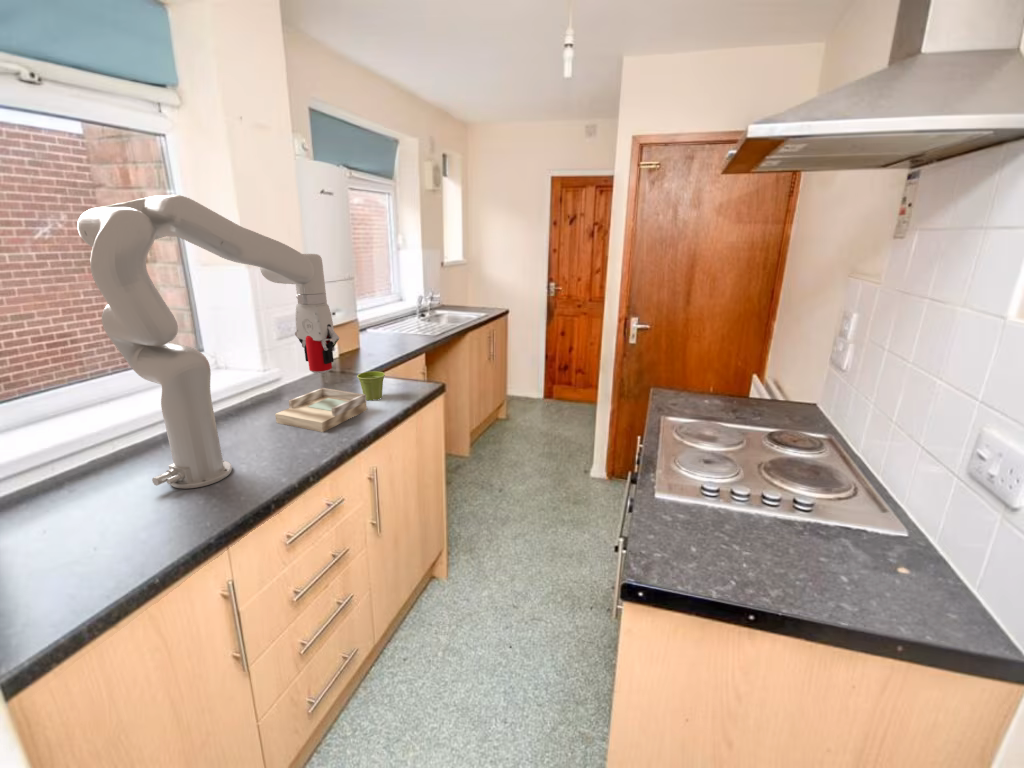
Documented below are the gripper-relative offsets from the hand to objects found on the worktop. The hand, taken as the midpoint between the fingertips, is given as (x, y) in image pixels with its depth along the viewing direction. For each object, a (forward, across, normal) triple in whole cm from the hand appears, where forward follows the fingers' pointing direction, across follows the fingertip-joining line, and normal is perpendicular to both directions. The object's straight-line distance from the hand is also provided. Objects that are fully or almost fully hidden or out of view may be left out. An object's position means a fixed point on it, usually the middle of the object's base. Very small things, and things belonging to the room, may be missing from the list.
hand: (319, 361), depth 138 cm
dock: (+20, -6, +5) cm, 22 cm away
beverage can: (+3, 0, 0) cm, 3 cm away
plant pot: (+21, -4, +26) cm, 33 cm away
